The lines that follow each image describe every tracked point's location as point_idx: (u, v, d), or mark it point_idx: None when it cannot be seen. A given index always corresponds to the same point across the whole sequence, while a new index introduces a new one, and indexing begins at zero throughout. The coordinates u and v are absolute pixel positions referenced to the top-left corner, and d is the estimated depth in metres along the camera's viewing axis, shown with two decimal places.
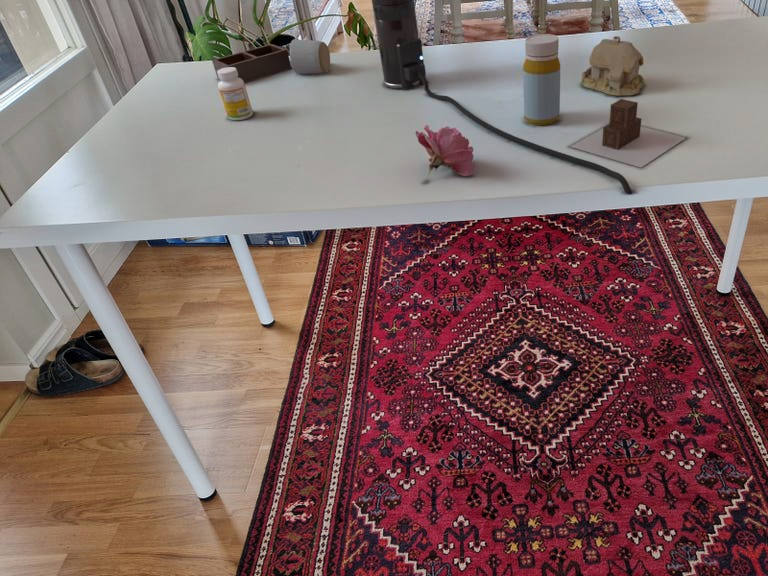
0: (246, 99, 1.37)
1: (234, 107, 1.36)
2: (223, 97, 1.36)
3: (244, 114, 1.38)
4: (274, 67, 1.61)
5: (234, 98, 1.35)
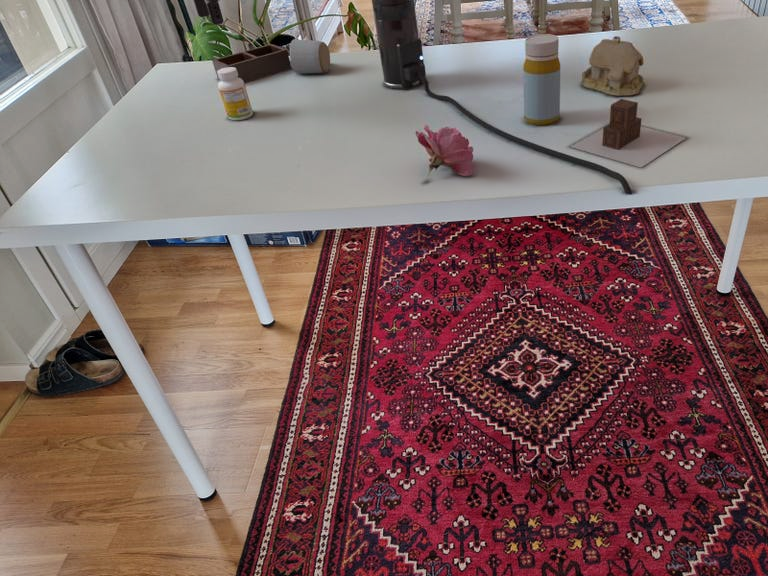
0: (246, 99, 1.37)
1: (234, 107, 1.36)
2: (223, 97, 1.36)
3: (244, 114, 1.38)
4: (274, 67, 1.61)
5: (234, 98, 1.35)
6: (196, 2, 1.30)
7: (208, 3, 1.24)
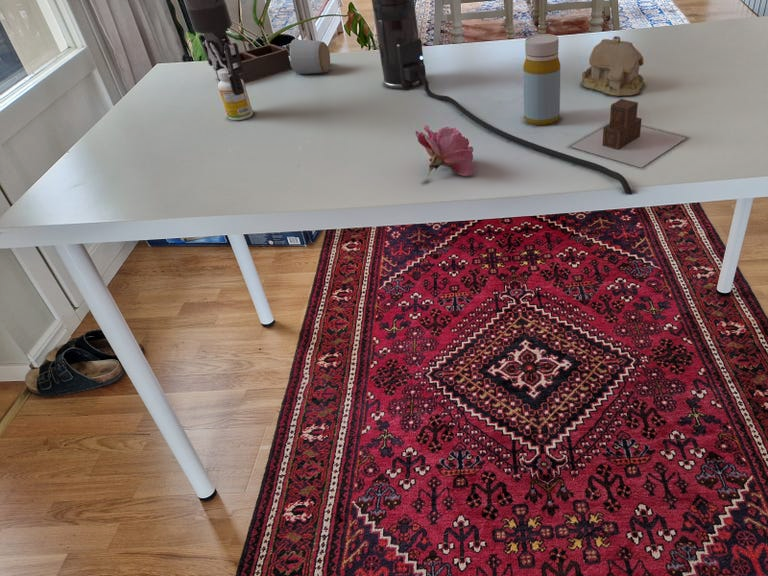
0: (246, 99, 1.37)
1: (234, 107, 1.36)
2: (223, 97, 1.36)
3: (244, 114, 1.38)
4: (274, 67, 1.61)
5: (234, 98, 1.35)
6: None
7: (230, 76, 1.32)
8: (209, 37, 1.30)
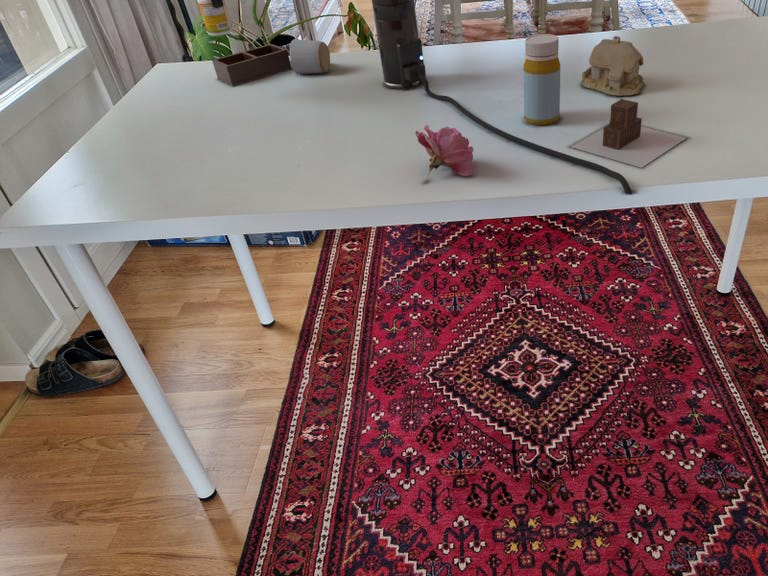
0: (225, 14, 1.37)
1: (213, 21, 1.37)
2: (202, 11, 1.36)
3: (224, 29, 1.38)
4: (274, 67, 1.61)
5: (214, 11, 1.35)
6: None
7: None
8: None
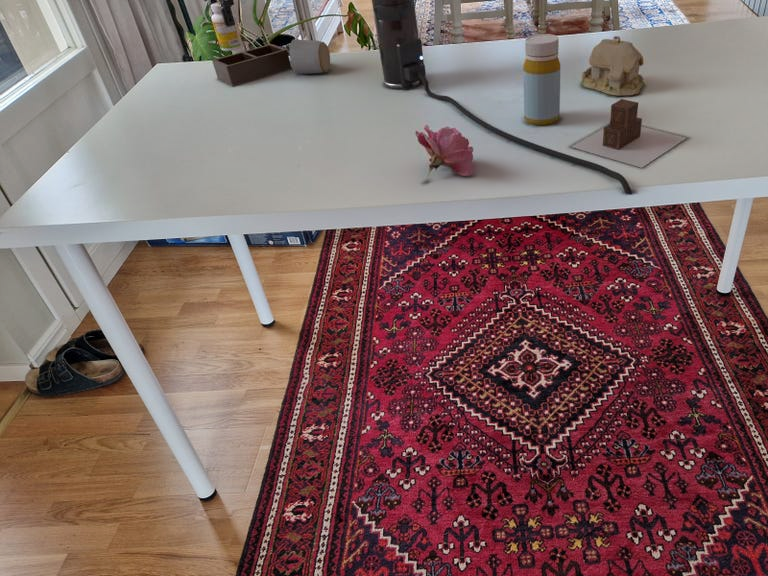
0: (237, 31, 1.53)
1: (226, 38, 1.52)
2: (216, 29, 1.51)
3: (235, 45, 1.54)
4: (274, 67, 1.61)
5: (226, 29, 1.51)
6: None
7: (222, 8, 1.47)
8: None
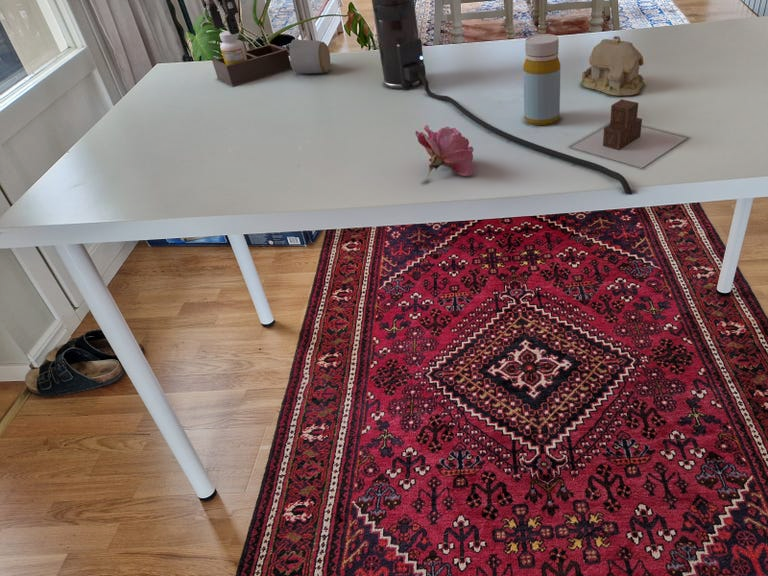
0: (245, 59, 1.57)
1: None
2: (225, 57, 1.55)
3: None
4: (274, 67, 1.61)
5: (234, 57, 1.55)
6: (213, 17, 1.53)
7: (227, 16, 1.47)
8: None
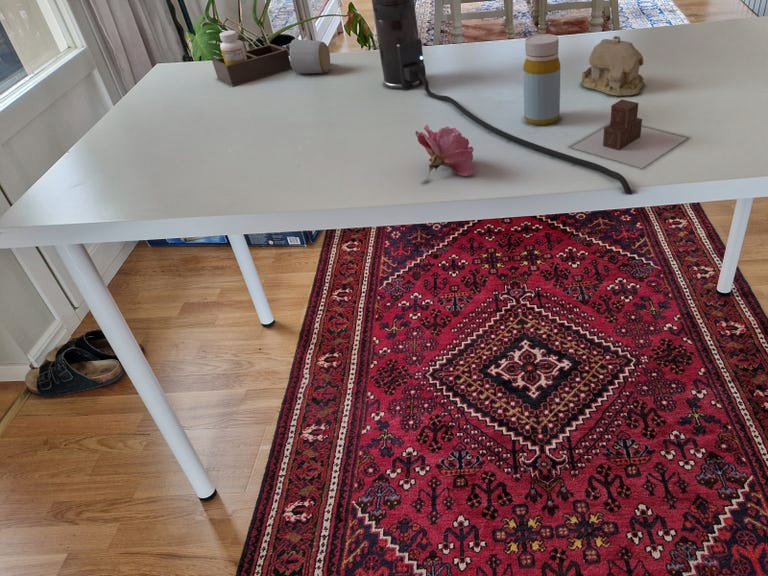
0: (245, 59, 1.57)
1: None
2: (225, 57, 1.55)
3: None
4: (274, 67, 1.61)
5: (234, 57, 1.55)
6: None
7: None
8: None
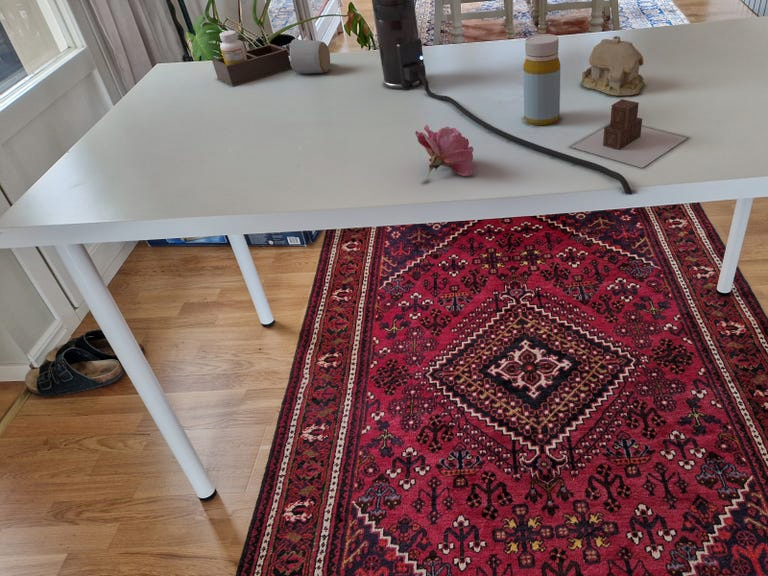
0: (245, 59, 1.57)
1: None
2: (225, 57, 1.55)
3: None
4: (274, 67, 1.61)
5: (234, 57, 1.55)
6: None
7: None
8: None
